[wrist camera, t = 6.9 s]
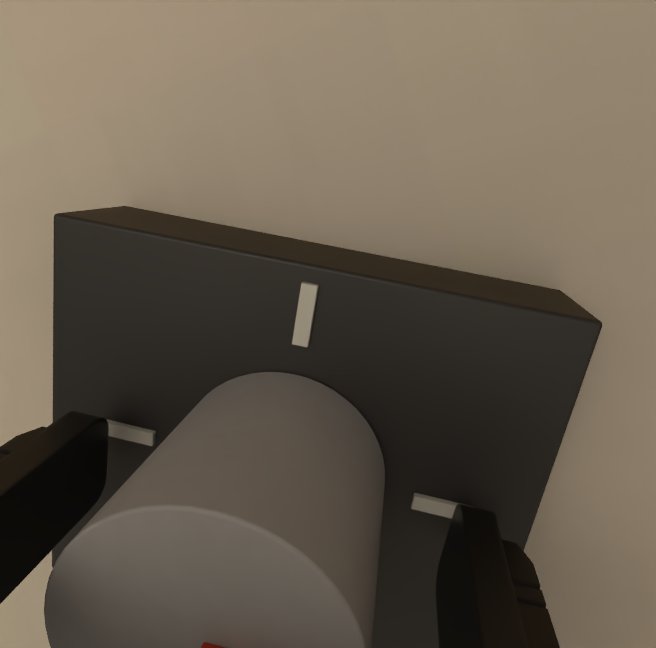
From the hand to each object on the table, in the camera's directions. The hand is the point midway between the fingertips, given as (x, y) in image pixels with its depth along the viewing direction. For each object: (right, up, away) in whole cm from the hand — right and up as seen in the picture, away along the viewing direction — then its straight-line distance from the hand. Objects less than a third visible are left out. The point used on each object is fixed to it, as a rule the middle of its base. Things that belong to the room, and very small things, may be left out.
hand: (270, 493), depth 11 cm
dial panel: (+1, +1, +4) cm, 4 cm away
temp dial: (0, 0, +1) cm, 1 cm away
